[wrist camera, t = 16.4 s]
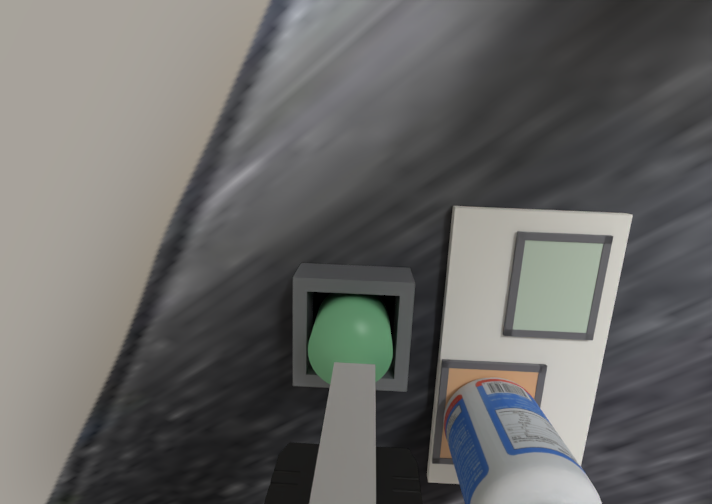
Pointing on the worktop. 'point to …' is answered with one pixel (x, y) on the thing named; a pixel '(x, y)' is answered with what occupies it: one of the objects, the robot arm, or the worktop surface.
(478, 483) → the pill bottle
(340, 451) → the robot arm
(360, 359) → the button
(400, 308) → the button frame
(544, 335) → the white rectangular board
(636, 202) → the worktop surface
